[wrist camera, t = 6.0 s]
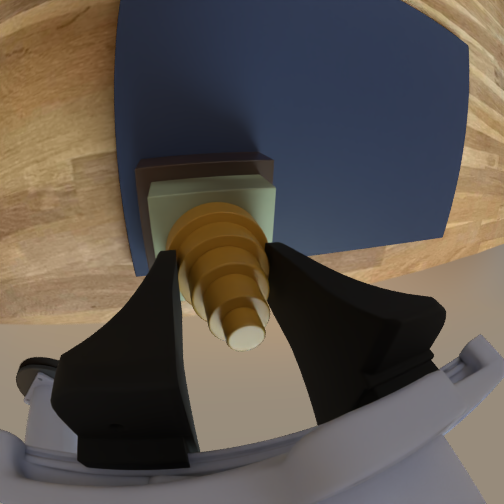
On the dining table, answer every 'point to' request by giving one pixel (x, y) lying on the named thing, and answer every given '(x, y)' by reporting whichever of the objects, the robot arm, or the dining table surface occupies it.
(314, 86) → the board
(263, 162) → the block stack
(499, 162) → the dining table surface
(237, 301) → the cone
